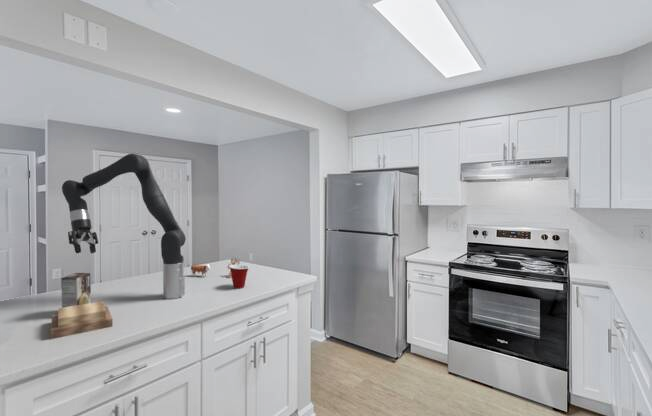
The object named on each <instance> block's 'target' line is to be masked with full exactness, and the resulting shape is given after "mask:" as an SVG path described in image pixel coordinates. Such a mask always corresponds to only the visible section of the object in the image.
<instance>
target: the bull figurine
mask: <svg viewBox="0 0 652 416" xmlns="http://www.w3.org/2000/svg"><path fill="white" fill-rule="evenodd" d="M190 270H191V274H192V275H193V276H194V277H195V278H197V275H196V272H197V273H198V274H200V273H201V277H202V278H204V276H205V277H208V275H207V272H208V270H211V264H209V263H208V264H198V265H197V264H192V265H191V267H190ZM204 274H205V275H204Z"/></svg>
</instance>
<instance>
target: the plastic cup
mask: <svg viewBox="0 0 652 416" xmlns="http://www.w3.org/2000/svg"><path fill="white" fill-rule="evenodd" d="M229 267H230V268H229V271H231V274H230V275H232V278H231V281H232V286H233V288H234V289H243V288H245V285H246V280H247V274H248V271H249V269H250V266H248V265H243V264H238V265H237V264H235V265H232V264H230V265H229Z"/></svg>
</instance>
